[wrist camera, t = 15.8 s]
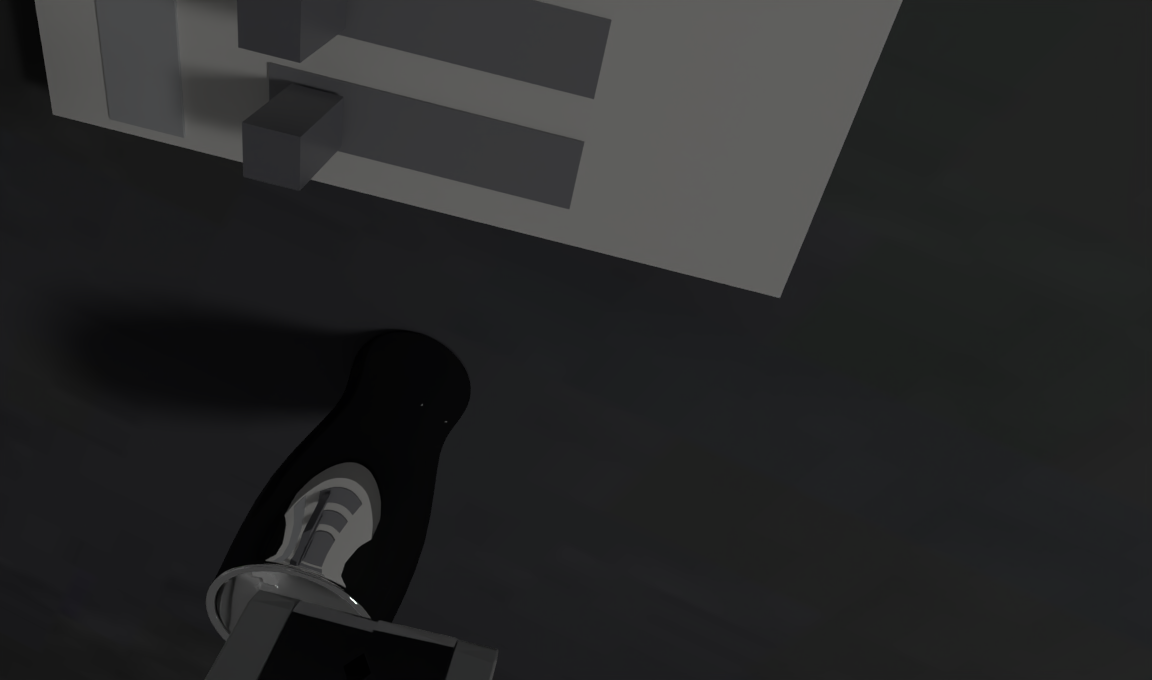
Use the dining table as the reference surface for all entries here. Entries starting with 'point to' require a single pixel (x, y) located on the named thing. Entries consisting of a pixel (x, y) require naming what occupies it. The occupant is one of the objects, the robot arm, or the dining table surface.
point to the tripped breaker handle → (289, 26)
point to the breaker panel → (511, 111)
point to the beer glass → (352, 490)
